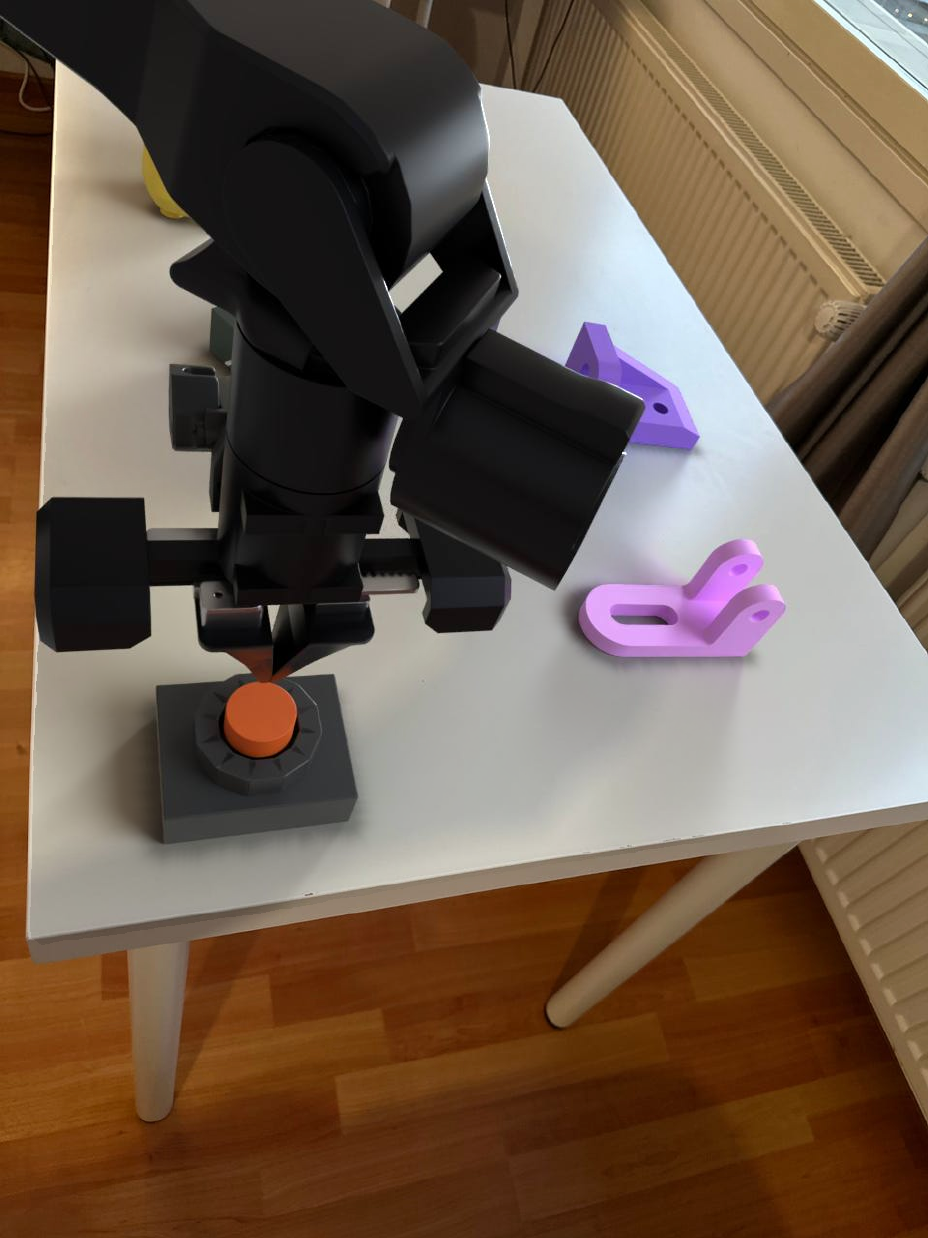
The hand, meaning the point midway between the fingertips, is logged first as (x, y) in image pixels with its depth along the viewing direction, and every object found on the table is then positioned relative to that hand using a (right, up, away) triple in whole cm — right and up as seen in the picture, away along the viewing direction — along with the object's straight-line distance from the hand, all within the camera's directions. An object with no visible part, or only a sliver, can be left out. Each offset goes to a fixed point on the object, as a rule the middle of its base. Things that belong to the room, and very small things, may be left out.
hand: (266, 674), depth 43 cm
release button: (-1, -3, +4) cm, 5 cm away
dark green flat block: (-4, +22, +29) cm, 37 cm away
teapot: (-15, +42, +41) cm, 61 cm away
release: (-3, -6, +7) cm, 10 cm away
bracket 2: (+24, +2, +23) cm, 33 cm away
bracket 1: (+24, +21, +38) cm, 50 cm away
